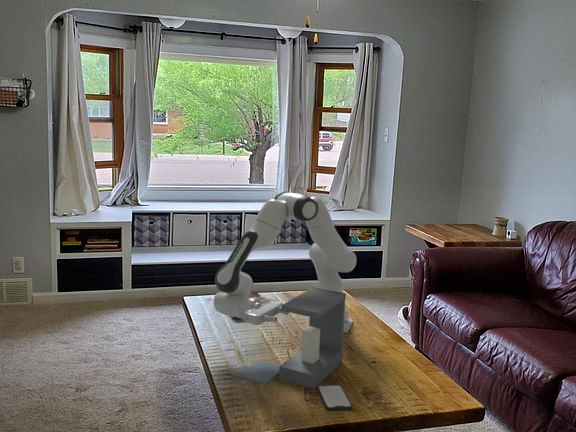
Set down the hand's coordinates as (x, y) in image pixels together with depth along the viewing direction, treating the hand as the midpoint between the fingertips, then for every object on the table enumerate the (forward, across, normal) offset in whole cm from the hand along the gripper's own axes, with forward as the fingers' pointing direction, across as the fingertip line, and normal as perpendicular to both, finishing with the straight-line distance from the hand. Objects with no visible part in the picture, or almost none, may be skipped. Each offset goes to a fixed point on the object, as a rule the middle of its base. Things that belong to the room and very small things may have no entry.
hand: (282, 316), depth 212 cm
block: (+12, 0, +15) cm, 19 cm away
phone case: (+28, -14, +20) cm, 37 cm away
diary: (-44, +46, +20) cm, 67 cm away
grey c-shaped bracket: (+12, +2, +20) cm, 23 cm away
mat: (-3, -9, +20) cm, 22 cm away
